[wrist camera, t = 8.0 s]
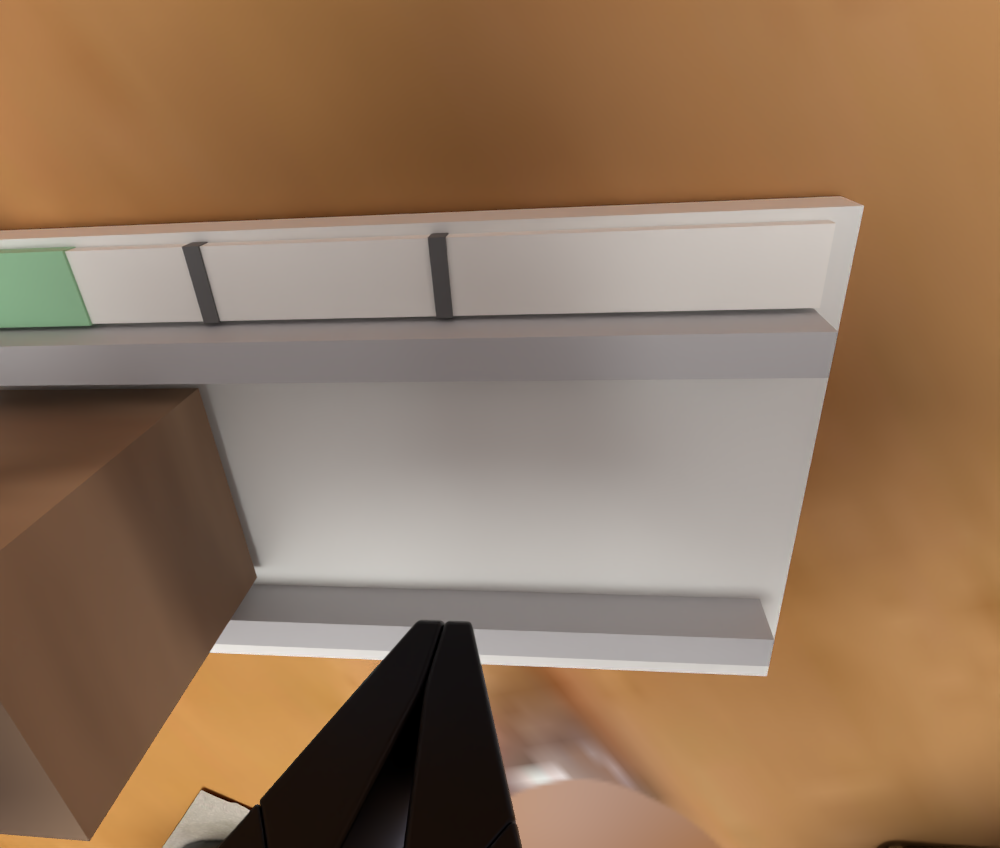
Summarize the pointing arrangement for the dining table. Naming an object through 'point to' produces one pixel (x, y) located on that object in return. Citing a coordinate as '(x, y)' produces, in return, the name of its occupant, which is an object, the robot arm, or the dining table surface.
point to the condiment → (206, 823)
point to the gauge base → (478, 412)
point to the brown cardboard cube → (104, 589)
